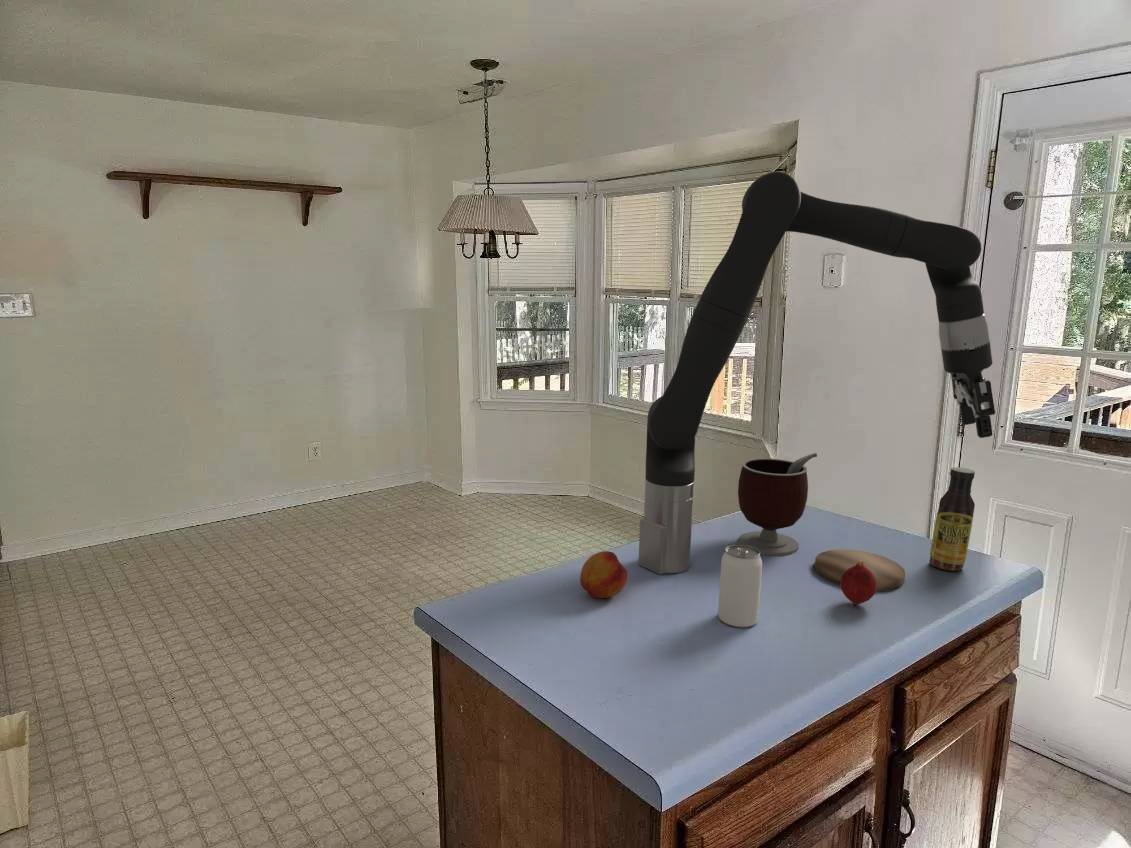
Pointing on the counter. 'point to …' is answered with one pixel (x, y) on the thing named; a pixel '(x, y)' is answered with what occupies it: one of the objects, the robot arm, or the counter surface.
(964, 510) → the sauce bottle
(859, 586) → the onion
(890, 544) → the counter surface
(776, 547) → the mate gourd
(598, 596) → the fruit
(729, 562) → the can
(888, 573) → the walnut board
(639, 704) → the counter surface
